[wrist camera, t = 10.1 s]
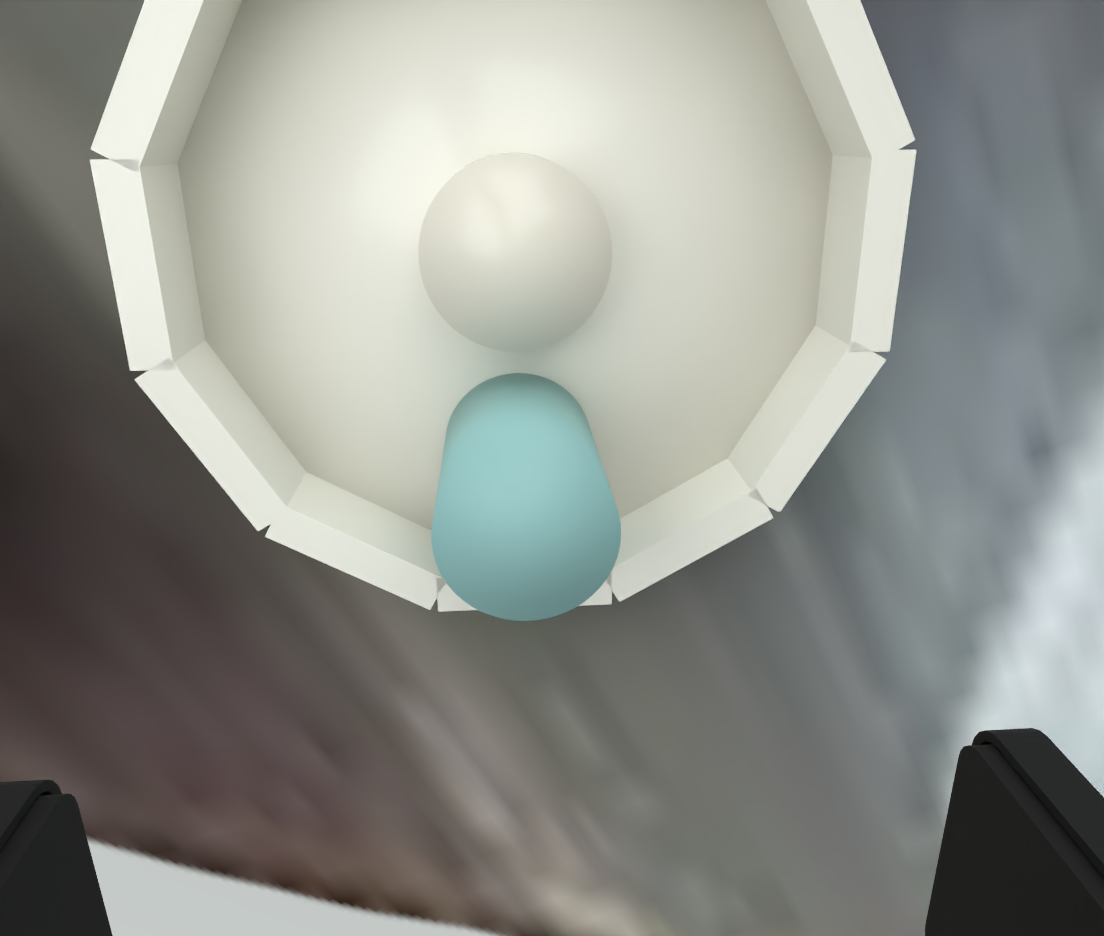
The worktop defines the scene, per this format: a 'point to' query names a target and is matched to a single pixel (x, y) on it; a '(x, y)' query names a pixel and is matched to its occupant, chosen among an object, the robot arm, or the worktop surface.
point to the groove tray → (346, 307)
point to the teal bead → (523, 502)
